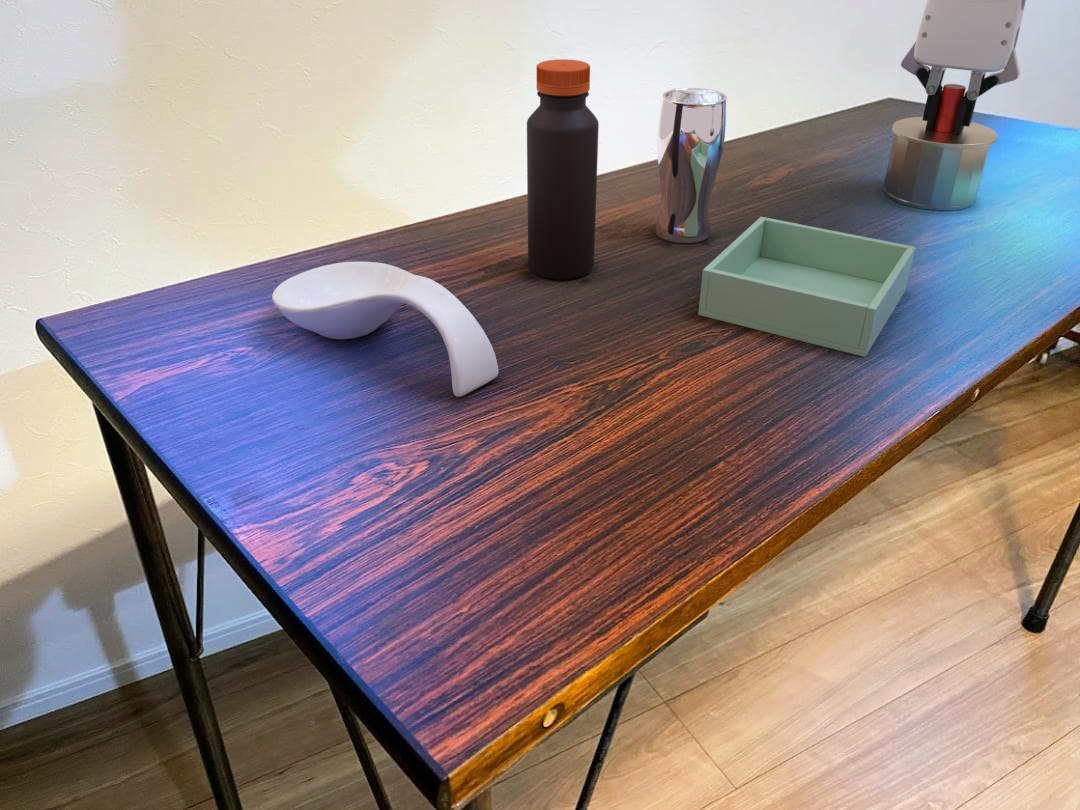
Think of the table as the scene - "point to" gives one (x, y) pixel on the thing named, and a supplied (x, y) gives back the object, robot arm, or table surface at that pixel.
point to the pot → (934, 175)
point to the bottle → (562, 172)
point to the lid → (945, 126)
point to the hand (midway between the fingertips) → (944, 128)
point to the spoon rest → (387, 312)
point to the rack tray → (807, 284)
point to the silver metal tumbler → (689, 161)
